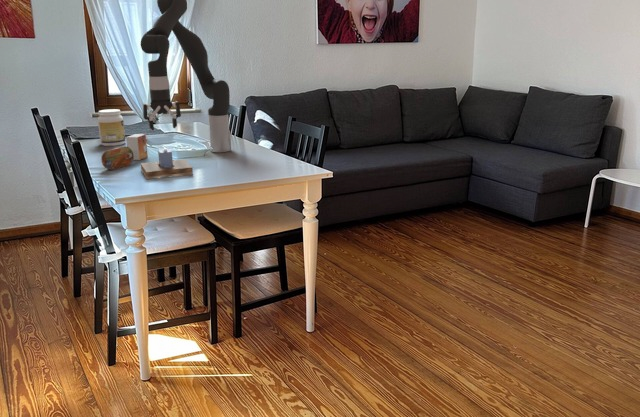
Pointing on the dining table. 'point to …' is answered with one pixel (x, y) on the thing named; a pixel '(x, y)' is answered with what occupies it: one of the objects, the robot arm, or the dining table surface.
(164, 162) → the block
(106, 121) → the supplement tub
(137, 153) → the small box
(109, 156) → the tin
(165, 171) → the pocket board
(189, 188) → the dining table surface
